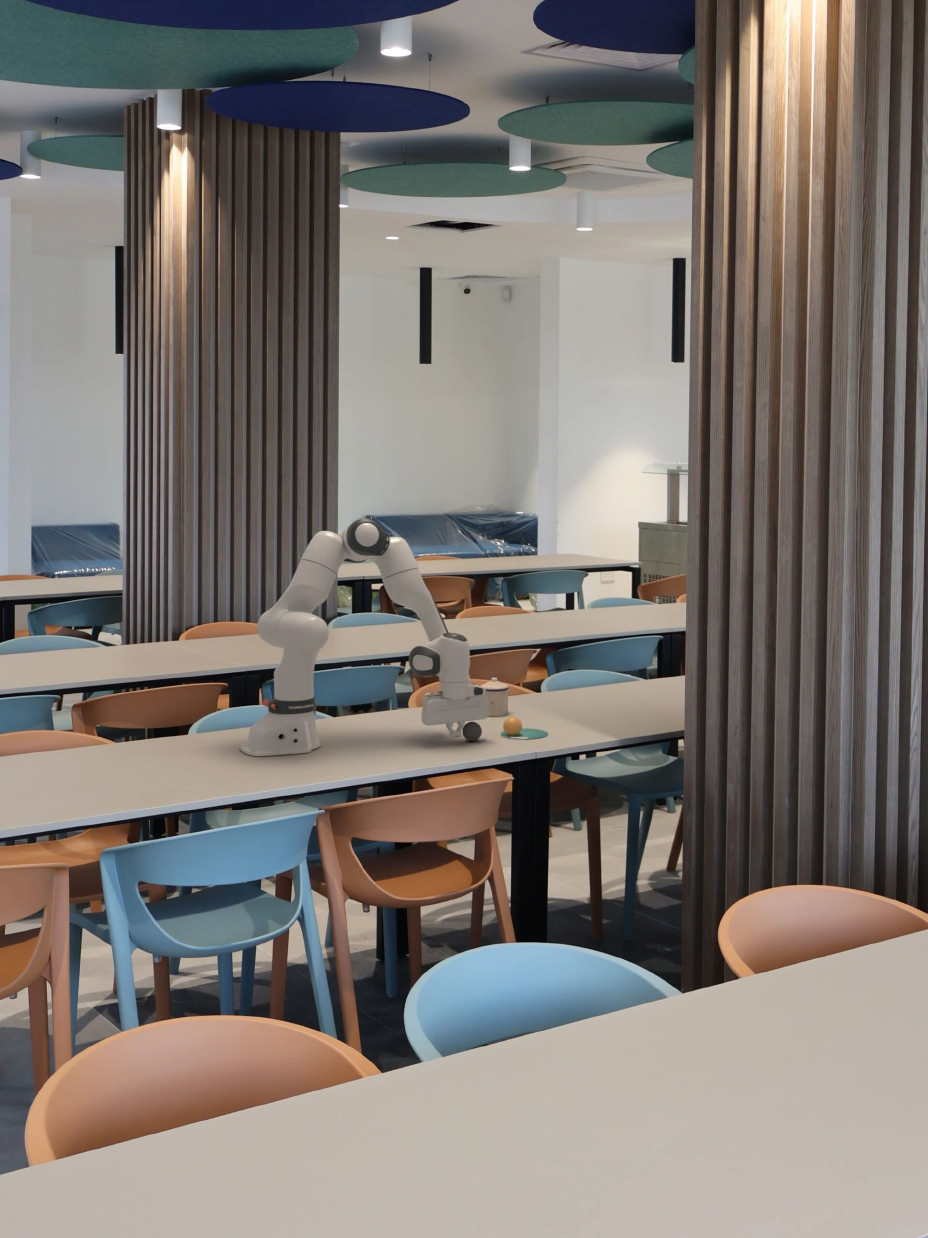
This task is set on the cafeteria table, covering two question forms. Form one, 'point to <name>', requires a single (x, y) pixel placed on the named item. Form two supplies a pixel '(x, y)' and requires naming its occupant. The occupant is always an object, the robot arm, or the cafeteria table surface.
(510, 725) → the object ball
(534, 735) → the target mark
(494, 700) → the teacup with lid
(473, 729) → the dark grey ball
